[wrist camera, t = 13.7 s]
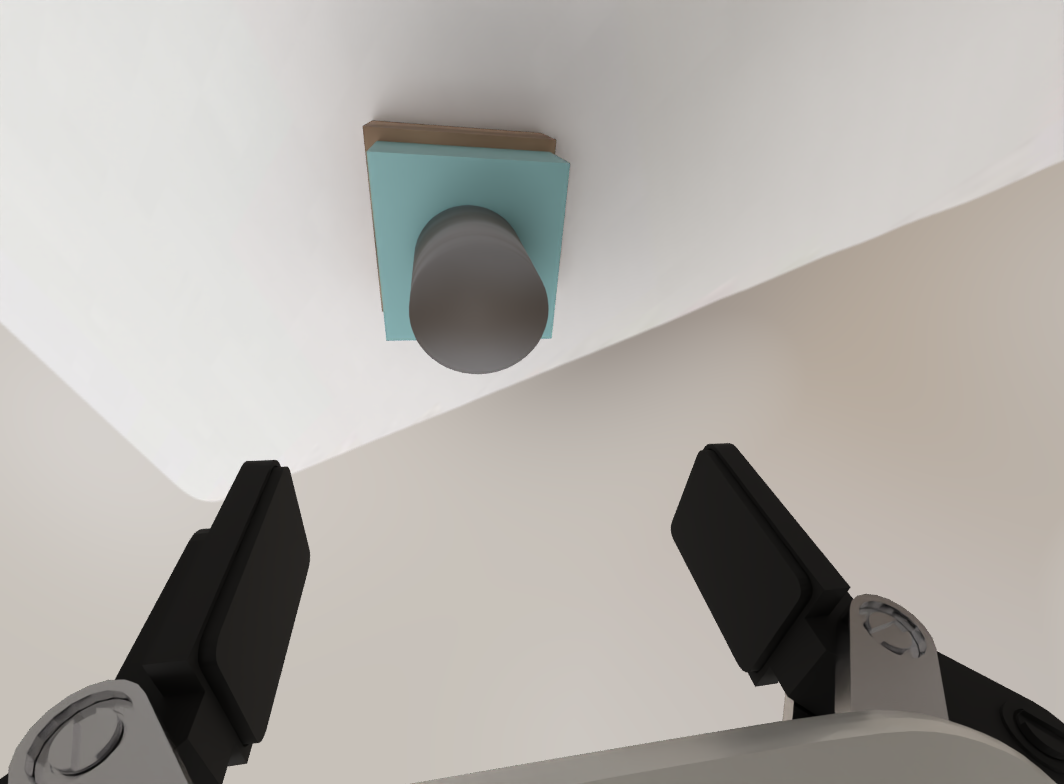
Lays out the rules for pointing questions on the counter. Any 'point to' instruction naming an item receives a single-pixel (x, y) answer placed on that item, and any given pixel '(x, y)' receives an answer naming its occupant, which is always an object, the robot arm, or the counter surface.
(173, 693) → the robot arm
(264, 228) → the counter surface
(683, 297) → the counter surface
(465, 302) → the charcoal cylinder
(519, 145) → the walnut base block
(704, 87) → the counter surface
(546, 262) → the teal top block
